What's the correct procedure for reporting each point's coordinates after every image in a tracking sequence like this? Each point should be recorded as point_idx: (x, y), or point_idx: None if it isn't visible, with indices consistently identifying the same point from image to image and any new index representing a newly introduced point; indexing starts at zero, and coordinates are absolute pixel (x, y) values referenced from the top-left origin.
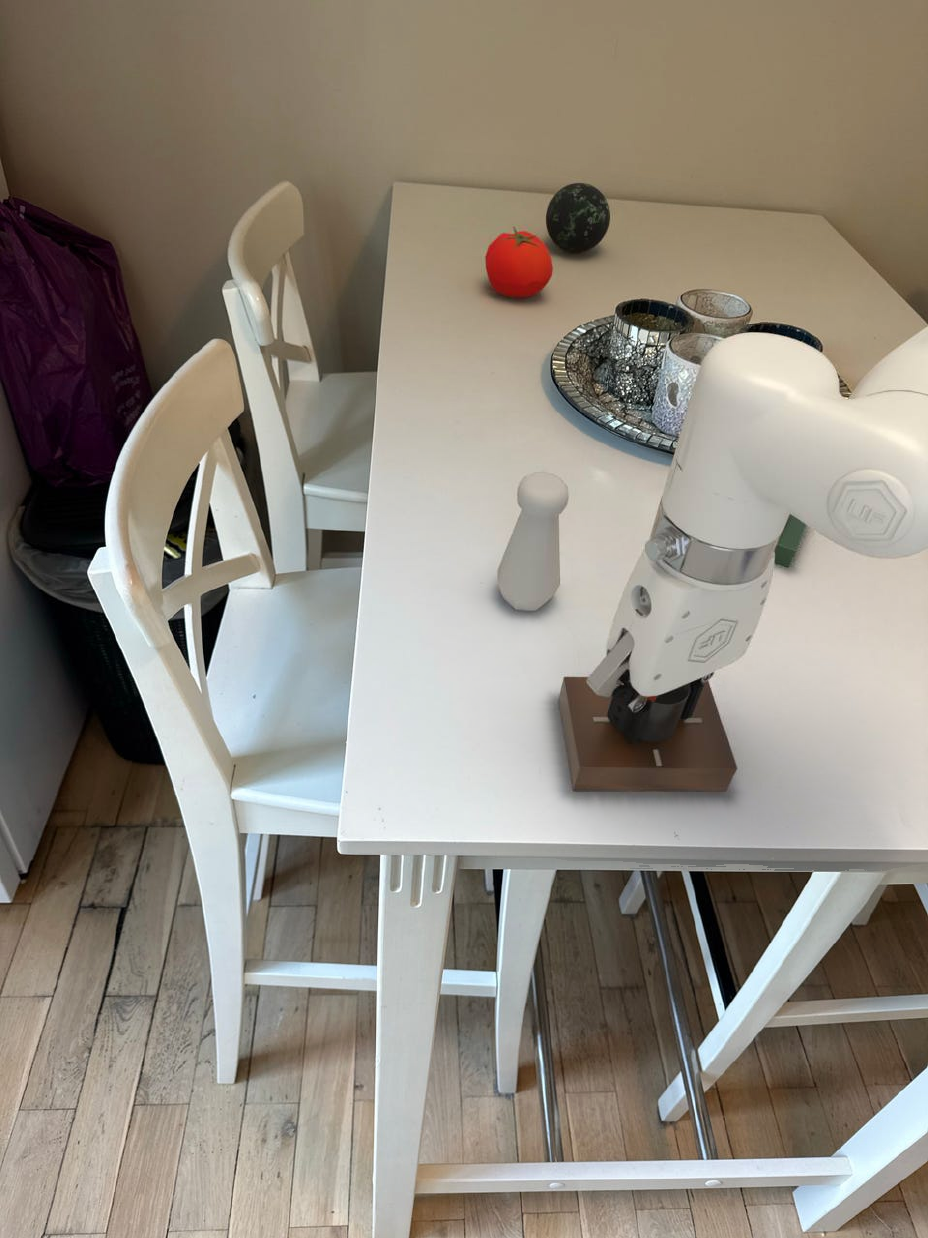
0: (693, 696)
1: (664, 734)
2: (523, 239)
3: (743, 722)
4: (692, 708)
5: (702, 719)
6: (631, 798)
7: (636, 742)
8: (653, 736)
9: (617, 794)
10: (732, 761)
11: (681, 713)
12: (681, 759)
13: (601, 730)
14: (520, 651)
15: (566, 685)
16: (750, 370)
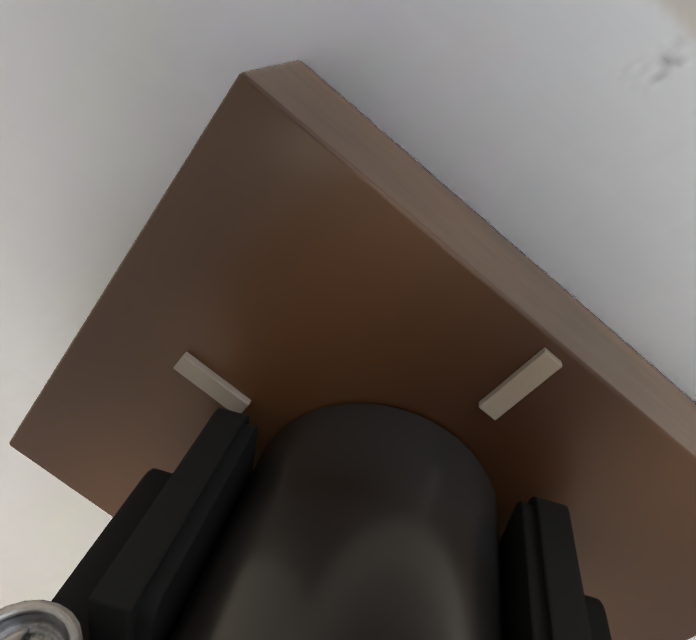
0: (178, 544)
1: (415, 448)
2: None
3: (6, 217)
4: (204, 459)
5: (169, 357)
6: (627, 300)
7: (511, 481)
8: (463, 473)
9: (649, 345)
10: (227, 120)
11: (297, 501)
12: (432, 303)
13: None
14: None
15: None
16: None
